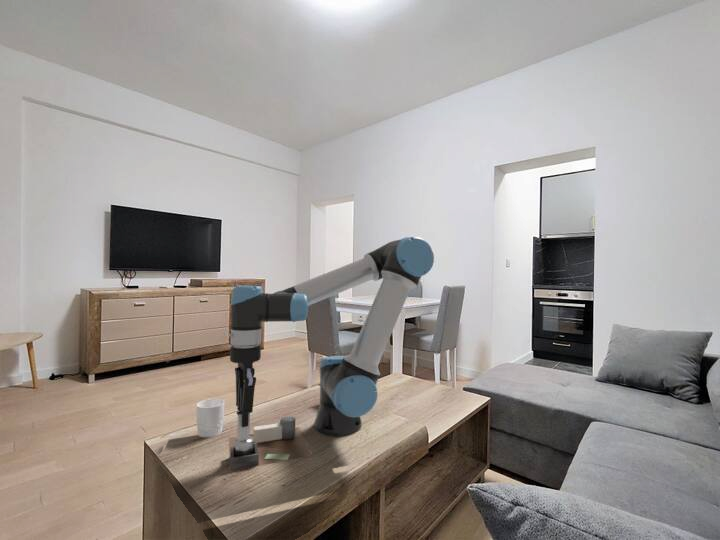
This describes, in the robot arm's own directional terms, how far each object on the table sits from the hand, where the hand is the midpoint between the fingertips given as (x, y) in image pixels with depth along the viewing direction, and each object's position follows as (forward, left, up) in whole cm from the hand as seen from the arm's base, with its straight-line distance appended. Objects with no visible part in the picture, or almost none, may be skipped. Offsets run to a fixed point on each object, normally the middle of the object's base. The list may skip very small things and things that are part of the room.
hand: (243, 437), depth 87 cm
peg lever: (-9, -9, -6) cm, 14 cm away
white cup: (+9, -21, -7) cm, 24 cm away
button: (0, 0, -4) cm, 4 cm away
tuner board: (-7, -6, -7) cm, 12 cm away
